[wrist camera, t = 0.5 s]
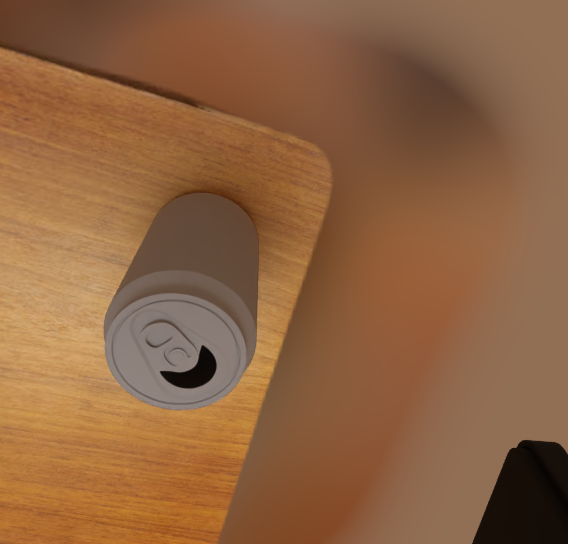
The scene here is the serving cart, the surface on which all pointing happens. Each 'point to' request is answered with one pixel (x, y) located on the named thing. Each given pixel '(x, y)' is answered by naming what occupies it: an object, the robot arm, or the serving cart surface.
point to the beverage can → (187, 305)
